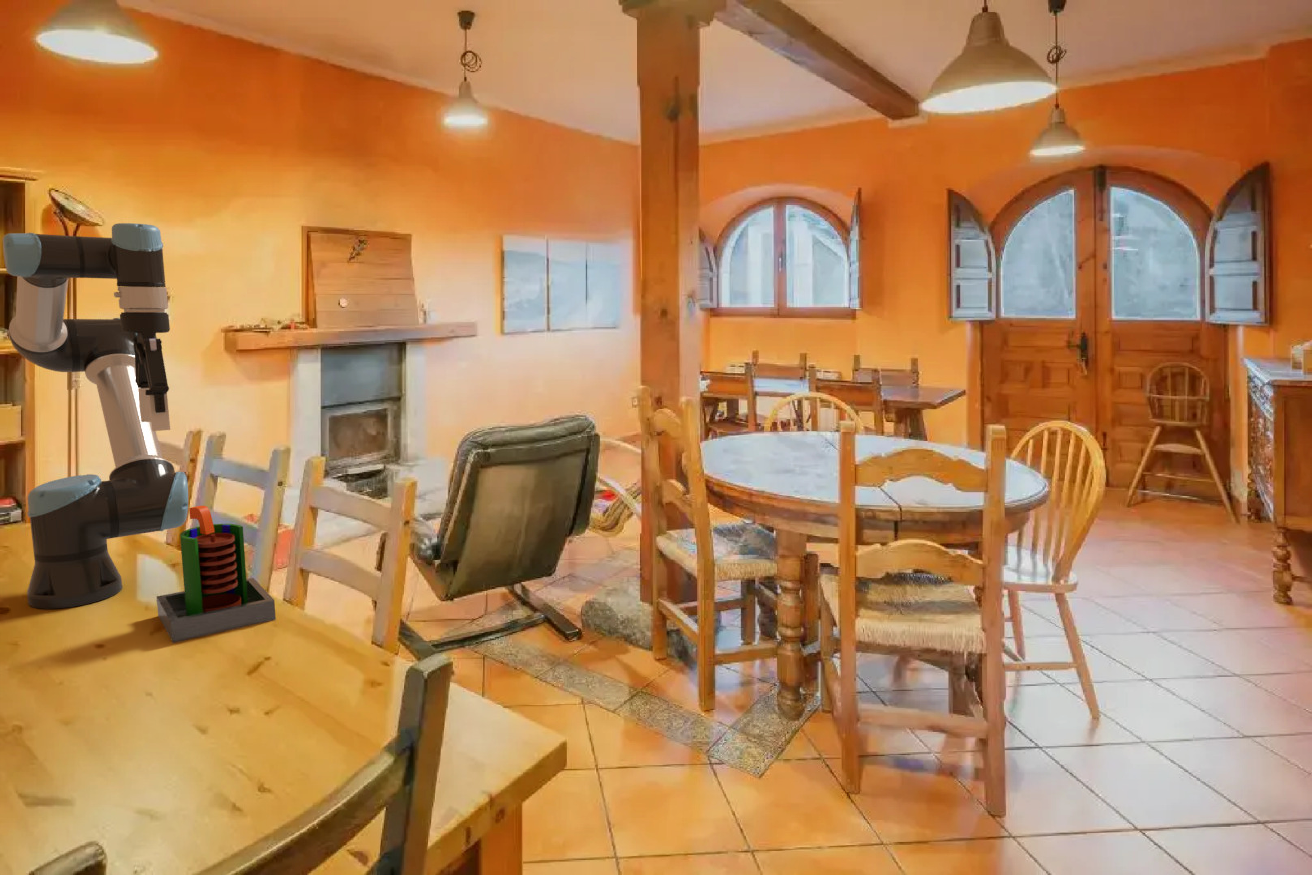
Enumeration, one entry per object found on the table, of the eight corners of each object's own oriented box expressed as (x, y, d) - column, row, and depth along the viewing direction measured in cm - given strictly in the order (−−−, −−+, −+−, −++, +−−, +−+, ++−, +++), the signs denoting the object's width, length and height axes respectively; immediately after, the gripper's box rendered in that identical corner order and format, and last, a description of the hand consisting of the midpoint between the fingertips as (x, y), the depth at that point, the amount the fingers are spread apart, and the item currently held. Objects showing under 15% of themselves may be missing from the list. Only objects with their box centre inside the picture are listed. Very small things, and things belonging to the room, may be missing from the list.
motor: (216, 625, 141) (206, 516, 137) (173, 621, 142) (162, 513, 139) (255, 604, 150) (247, 502, 147) (214, 600, 152) (205, 500, 149)
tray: (158, 615, 147) (156, 596, 146) (254, 595, 157) (253, 577, 156) (172, 642, 135) (170, 621, 134) (275, 619, 145) (274, 599, 145)
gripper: (111, 310, 151) (122, 419, 155) (128, 311, 132) (141, 436, 136) (157, 310, 156) (167, 416, 160) (180, 311, 137) (191, 432, 141)
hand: (155, 426), depth 148 cm, fingers open, 13 cm apart
